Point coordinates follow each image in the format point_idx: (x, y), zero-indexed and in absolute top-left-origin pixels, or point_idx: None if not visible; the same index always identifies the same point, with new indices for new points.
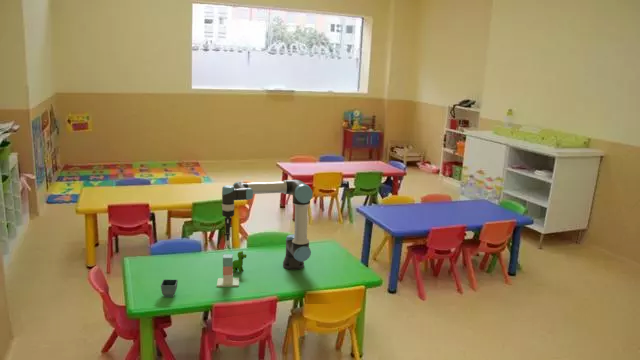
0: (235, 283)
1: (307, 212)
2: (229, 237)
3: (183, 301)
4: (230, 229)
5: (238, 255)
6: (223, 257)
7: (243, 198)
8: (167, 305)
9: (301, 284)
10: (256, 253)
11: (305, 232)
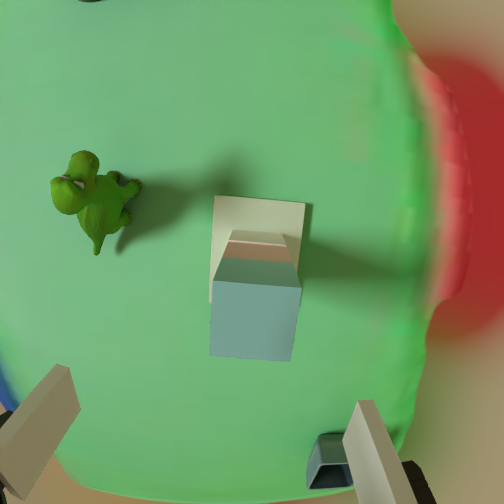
0: (283, 218)
1: None
2: (408, 489)
3: (382, 405)
4: (7, 447)
5: (81, 207)
6: (281, 357)
7: None
8: (389, 434)
9: None
10: None
11: None
